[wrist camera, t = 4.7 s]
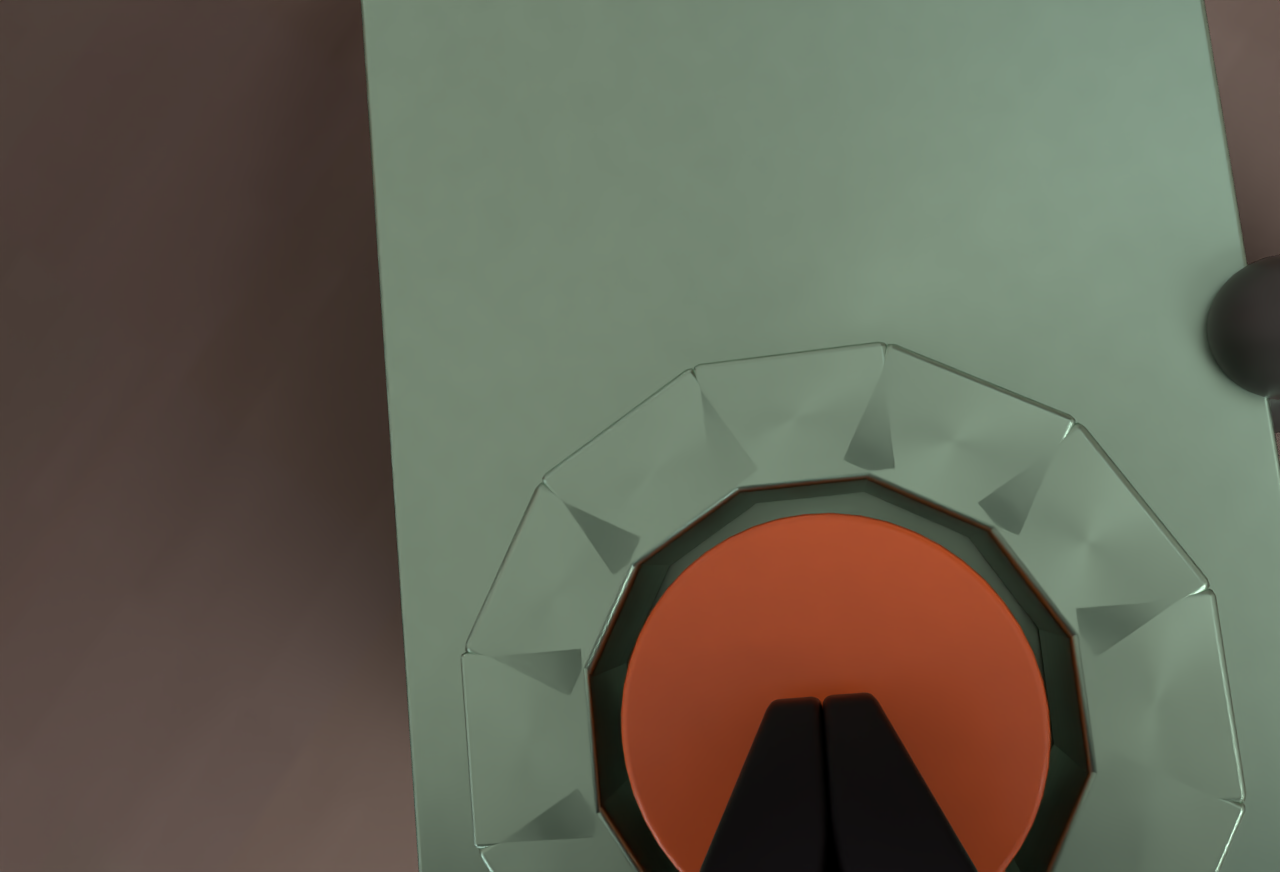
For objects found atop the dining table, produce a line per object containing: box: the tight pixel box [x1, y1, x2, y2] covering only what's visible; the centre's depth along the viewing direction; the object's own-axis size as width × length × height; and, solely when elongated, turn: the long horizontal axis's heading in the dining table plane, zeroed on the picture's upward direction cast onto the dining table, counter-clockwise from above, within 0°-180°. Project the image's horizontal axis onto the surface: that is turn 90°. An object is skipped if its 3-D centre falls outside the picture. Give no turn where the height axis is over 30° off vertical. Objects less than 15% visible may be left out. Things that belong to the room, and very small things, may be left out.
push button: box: [621, 513, 1051, 872], centre depth 11 cm, size 4×4×2 cm
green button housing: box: [361, 0, 1280, 872], centre depth 14 cm, size 12×9×8 cm
